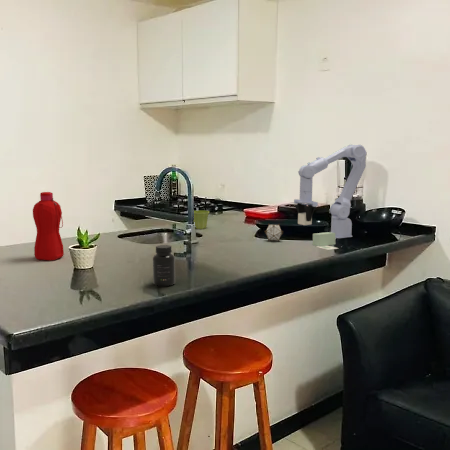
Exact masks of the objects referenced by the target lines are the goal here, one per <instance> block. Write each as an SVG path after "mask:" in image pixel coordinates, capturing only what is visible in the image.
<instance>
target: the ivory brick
mask: <svg viewBox="0 0 450 450" xmlns="http://www.w3.org/2000/svg"><path fill="white" fill-rule="evenodd" d="M312 222H313V217H312V218H311V221H306V212H305V213H298V212H297V224H298V225H301V226H302V225H303V226H308V225H312V224H313V223H312Z"/></svg>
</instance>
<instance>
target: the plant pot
mask: <svg viewBox="0 0 450 450" xmlns="http://www.w3.org/2000/svg"><path fill="white" fill-rule="evenodd" d="M193 211H194V220H193V223H194V222H195V226H196V228H195V229H197V230H203V229H207V226H208V219H209V218H208V217H209V214H210V211H209V210H193Z"/></svg>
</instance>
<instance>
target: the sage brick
mask: <svg viewBox="0 0 450 450" xmlns="http://www.w3.org/2000/svg"><path fill="white" fill-rule="evenodd" d="M312 245H313V246H326V245H328V246H332V245H336V238H335V233H331V231H329V232H328V231H327V232H319V233H318V232H317V233H312Z"/></svg>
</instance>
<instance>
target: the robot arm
mask: <svg viewBox="0 0 450 450" xmlns="http://www.w3.org/2000/svg"><path fill="white" fill-rule="evenodd" d="M366 156H367V150H366V148H365V147H364V146H363V144H362V145H361V144H349V145H347V146H344V147H342V148H340V149H338V150H337V151H335V152H333V153H331V154H329V155H327V156H326V157H323V156H320V157H319V156H318V157H316V159H315V160H313V161H311V162H307V165H302V166H300V168H299V170H298V171H297V172H298V175H299V178H300V179H299V198H297V199H296V198H295V199H294V200H293V204H295V205H294V207H295V209H296V212H297V214H298V213H306V221H311V218H312V219H313V215H314V212H315V210H317V207H318V206H319V205H318V204H319V202H318V201H314V200H313V177H315V175H317V174H318V173H320V172H322V171H324V170H326V169H327V168H328V167H329V165H330V164H332V163H334V162H335V161H338V160H340V159H343V158H347V159H348V160H349V161H350V163H351V164H352V168H351V170H350V173H349V175H348V177H347V179H346V181H345V184H344V186H343V188H342V190H341V192H340V195H339V197H337V198H336V199H335V200H334V202H333V204H331V205H330V208H329V213H330V214H331V223H330V226H331V227H330V232H331V233H335V239H346V238H353V235H352V228H353V227H352V226H353V223H352V220H351V219H350V218H349V216H350V213H351V212H350V211H351V206H352V204H351V200H352V198H353V195H354V194H355V191H356V189H357V187H358V184H359V182H360V181H361V178H362V176H363V174H364V171H365V169H366V167H367V165H366V164H367V160H366V159H367V157H366Z"/></svg>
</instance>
